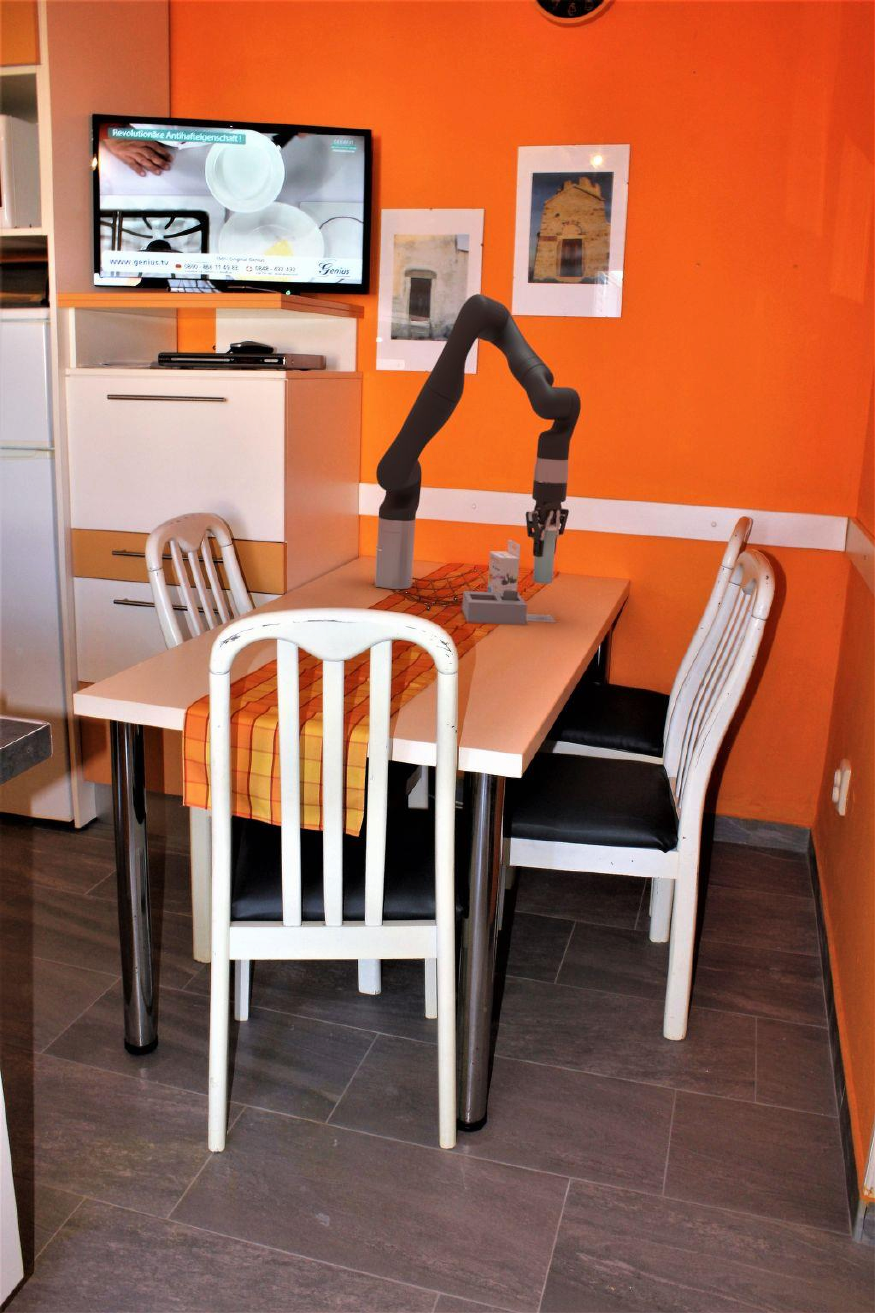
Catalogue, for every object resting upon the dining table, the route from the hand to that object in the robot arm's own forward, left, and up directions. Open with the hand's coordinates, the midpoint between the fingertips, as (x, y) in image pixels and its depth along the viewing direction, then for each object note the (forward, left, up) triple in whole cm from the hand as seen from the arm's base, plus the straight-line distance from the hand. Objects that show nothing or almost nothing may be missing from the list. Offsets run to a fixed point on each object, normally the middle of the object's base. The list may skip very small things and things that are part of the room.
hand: (543, 554), depth 252 cm
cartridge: (0, 0, -6) cm, 6 cm away
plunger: (-7, -1, -14) cm, 16 cm away
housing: (-11, -1, -15) cm, 19 cm away
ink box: (-6, +19, -15) cm, 25 cm away
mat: (0, 0, -15) cm, 15 cm away
